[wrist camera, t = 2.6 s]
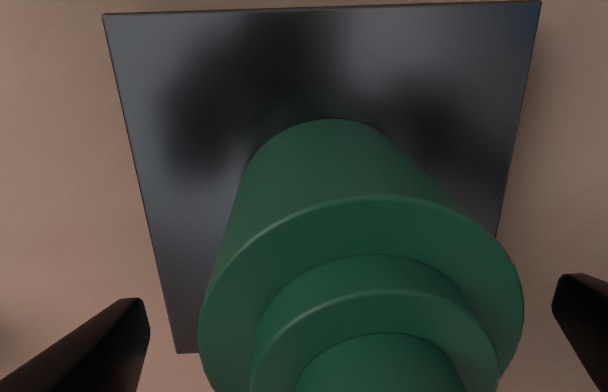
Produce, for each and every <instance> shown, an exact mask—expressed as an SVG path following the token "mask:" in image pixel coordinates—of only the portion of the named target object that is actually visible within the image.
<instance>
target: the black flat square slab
mask: <svg viewBox="0 0 608 392" xmlns="http://www.w3.org/2000/svg"><path fill="white" fill-rule="evenodd" d="M541 6H542V1H540V0H515V1H484V2H452V3H420V4H388V5H356V6H324V7H292V8H261V9H229V10H197V11H165V12H133V13H104V14H102V21H103V25H104V30H105V34H106V39H107V43H108V48H109V52H110V57H111V61H112V66H113V70H114V75H115V79H116V84H117V88H118V93H119V97H120V102H121V106H122V111H123V115H124V120H125V124H126V129H127V133H128V138H129V142H130V147H131V151H132V156H133V160H134V165H135V169H136V174H137V178H138V183H139V187H140V192H141V196H142V201H143V205H144V210H145V214H146V219H147V223H148V228H149V232H150V237H151V241H152V246H153V250H154V255H155V259H156V264H157V268H158V273H159V277H160V282H161V286H162V291H163V295H164V300H165V304H166V309H167V313H168V318H169V322H170V327H171V331H172V336H173V340H174V345H175V349H176V353H177V354H184V353H199V347H198V337H197V334H198V320H199V315H200V311H201V307H202V303H203V299H204V296H205V293H206V290H207V287H208V283H209V280H210V277H211V274H212V270H213V267H214V264H215V261H216V258H217V254H218V251H219V248H220V245H221V241H222V238H223V235H224V232H225V229H226V225H227V222H228V219H229V216H230V213H231V209H232V206H233V203H234V200H235V196H236V193H237V190H238V187H239V184H240V180H241V178H242V176H243V173H244V171H245V169H246V167H247V166H248V164H249V162H250V160H251V159H252V158H253V157H254V155H255V154H256V153H257V152H258V150H259V149H260V148H261V147H262V146H263V145H265V144H266V143H267V142H268V141H269V140H270V139H272V138H273V137H275V136H276V135H277V134H279V133H281V132H283V131H284V130H286V129H288V128H290V127H293V126H295V125H298V124H301V123H304V122H308V121H312V120H319V119H344V120H350V121H355V122H358V123H361V124H365V125H367V126H369V127H372V128H374V129H376V130H378V131H379V132H381V133H382V134H384V135H385V136H387V137H388V138H389V139H390V140H392V141H393V142H394V143H395V144H396V145H397V146H398V147H399V148H400V149H401V150H402V151H404V152H405V153H406V154H407V155H408V156H409V157H410V158H411V159H412V160H413V161H414V162H415V163H416V164H417V165H418V166H420V167H421V168H422V169H423V170H424V171H425V172H426V173H427V174H428V175H429V176H430V177H431V178H432V179H433V180H434V181H435V182H437V183H438V184H439V185H440V186H441V187H442V188H443V189H444V190H445V191H446V192H447V193H448V194H449V195H450V196H451V197H452V198H454V199H455V200H456V201H457V202H458V203H459V204H460V205H461V206H462V207H463V208H464V209H465V210H466V211H467V212H468V213H470V214H471V215H472V216H473V217H474V218H475V219H476V220H477V221H478V222H479V223H480V224H481V225H482V226H483V227H484V228H485V229H487V230H488V231H489V232H490V233H491V234H492V235H493V236H494V237H495V238H496V234H497V229H498V224H499V219H500V214H501V209H502V204H503V198H504V193H505V188H506V183H507V178H508V173H509V168H510V163H511V158H512V153H513V148H514V143H515V138H516V132H517V127H518V122H519V117H520V112H521V107H522V102H523V97H524V92H525V87H526V82H527V77H528V72H529V66H530V61H531V56H532V51H533V46H534V41H535V36H536V31H537V26H538V21H539V16H540V11H541Z"/></svg>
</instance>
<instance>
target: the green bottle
mask: <svg viewBox="0 0 608 392" xmlns="http://www.w3.org/2000/svg"><path fill="white" fill-rule="evenodd" d="M523 323H524V298H523V292H522V286H521V282H520V279H519V276H518V274H517V271H516V268H515V266H514V264H513V262H512V261H511V259H510V257H509V255H508V254H507V252H506V250H505V249H504V248H503V247H502V246H501V244H500V243H499V242H498V241H497V240H496V238H495V237H494V236H493V235H492V234H491V233H490V232H489V231H488V230H487V229H485V228H484V227H483V226H482V225H481V224H480V223H479V222H478V221H477V220H476V219H475V218H474V217H473V216H472V215H471V214H470V213H468V212H467V211H466V210H465V209H464V208H463V207H462V206H461V205H460V204H459V203H458V202H457V201H456V200H455V199H454V198H452V197H451V196H450V195H449V194H448V193H447V192H446V191H445V190H444V189H443V188H442V187H441V186H440V185H439V184H438V183H437V182H435V181H434V180H433V179H432V178H431V177H430V176H429V175H428V174H427V173H426V172H425V171H424V170H423V169H422V168H421V167H420V166H418V165H417V164H416V163H415V162H414V161H413V160H412V159H411V158H410V157H409V156H408V155H407V154H406V153H405V152H404V151H402V150H401V149H400V148H399V147H398V146H397V145H396V144H395V143H394V142H393V141H392V140H390V139H389V138H388V137H387V136H385V135H384V134H382V133H381V132H379V131H378V130H376V129H374V128H372V127H369V126H367V125H365V124H361V123H358V122H355V121H350V120H344V119H319V120H312V121H308V122H304V123H301V124H298V125H295V126H293V127H290V128H288V129H286V130H284V131H283V132H281V133H279V134H277V135H276V136H275V137H273V138H272V139H270V140H269V141H268V142H267V143H266V144H265V145H263V146H262V147H261V148H260V149H259V150H258V152H257V153H256V154H255V155H254V157H253V158H252V159H251V160H250V162H249V164H248V166H247V167H246V169H245V171H244V173H243V176H242V178H241V180H240V184H239V187H238V190H237V193H236V196H235V200H234V203H233V206H232V209H231V213H230V216H229V219H228V222H227V225H226V229H225V232H224V235H223V238H222V241H221V245H220V248H219V251H218V254H217V258H216V261H215V264H214V267H213V270H212V274H211V277H210V280H209V283H208V287H207V290H206V293H205V296H204V299H203V303H202V307H201V311H200V315H199V320H198V334H197V337H198V347H199V354H200V358H201V362H202V365H203V369H204V372H205V374H206V376H207V378H208V380H209V382H210V385H211V386H212V388H213V389H214V391H215V392H496V389H497V385H498V381H499V379H500V378H501V376H502V375H503V373H504V372H505V370H506V369H507V368H508V366H509V364H510V362H511V360H512V358H513V356H514V354H515V352H516V350H517V347H518V344H519V341H520V338H521V334H522V328H523Z"/></svg>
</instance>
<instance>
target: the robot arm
mask: <svg viewBox="0 0 608 392" xmlns="http://www.w3.org/2000/svg"><path fill="white" fill-rule="evenodd" d="M551 308H552V313H553V315H554V317H555V319H556V321H557V322H558V324H559V326H560V327H561V329H562V331H563V332H564V334H565V336H566V337H567V339H568V341H569V342H570V344H571V346H572V347H573V349H574V351H575V352H576V354H577V356H578V357H579V359H580V361H581V362H582V364H583V366H584V367H585V369H586V371H587V372H588V374H589V376H590V377H591V379H592V380H593V382H594V383H595V385H596V386H597V388H598V389H599V391H600V392H608V282H605V281H602V280H600V279H597V278H594V277H592V276H589V275H587V274H583V273H574V274H564V275H562V276H561V277H560V278H559V280H558V283H557V287H556V290H555V294H554V297H553V301H552V305H551ZM149 340H150V326H149V322H148V318H147V314H146V310H145V306H144V303H143V301H142V299H140V298H123V299H119V300H118V301H116V302H115V303H113V304H112V305H110V306H109V307H107V308H106V309H104V310H103V311H101V312H100V313H99V314H97V315H96V316H94V317H93V318H91V319H90V320H88V321H87V322H85V323H84V324H82V325H81V326H79V327H78V328H76V329H75V330H74V331H72V332H71V333H69V334H68V335H66V336H65V337H63V338H62V339H60V340H59V341H57V342H56V343H54V344H53V345H51V346H50V347H49V348H47V349H46V350H44V351H43V352H41V353H40V354H38V355H37V356H35V357H34V358H32V359H31V360H29V361H28V362H26V363H25V364H24V365H22V366H21V367H19V368H18V369H16V370H15V371H13V372H12V373H10V374H9V375H7V376H6V377H4V378H3V379H1V380H0V392H136V390H137V386H138V382H139V378H140V374H141V371H142V367H143V363H144V359H145V355H146V351H147V348H148V344H149Z"/></svg>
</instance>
